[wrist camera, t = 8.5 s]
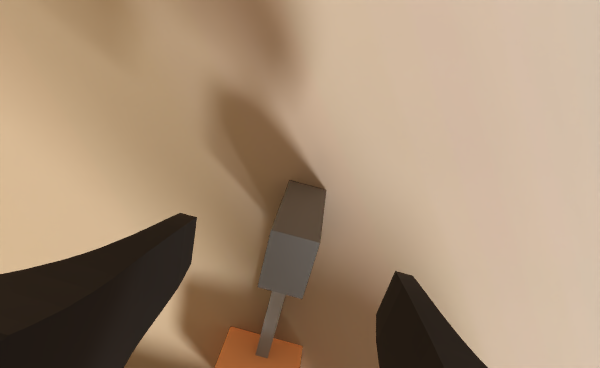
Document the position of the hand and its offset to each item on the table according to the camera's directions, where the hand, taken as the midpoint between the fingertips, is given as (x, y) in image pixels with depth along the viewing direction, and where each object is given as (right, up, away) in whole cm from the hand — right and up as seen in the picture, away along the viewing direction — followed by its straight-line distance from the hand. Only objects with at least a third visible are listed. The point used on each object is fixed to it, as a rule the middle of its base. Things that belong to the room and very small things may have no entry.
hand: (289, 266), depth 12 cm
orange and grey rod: (-1, -4, +9) cm, 10 cm away
